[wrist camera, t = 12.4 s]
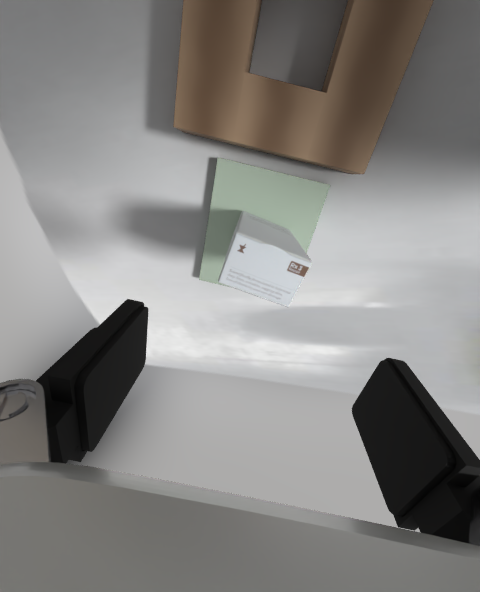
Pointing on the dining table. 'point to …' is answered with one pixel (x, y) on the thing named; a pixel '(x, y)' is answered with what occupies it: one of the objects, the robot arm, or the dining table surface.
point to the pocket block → (288, 97)
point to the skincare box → (264, 260)
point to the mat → (257, 208)
